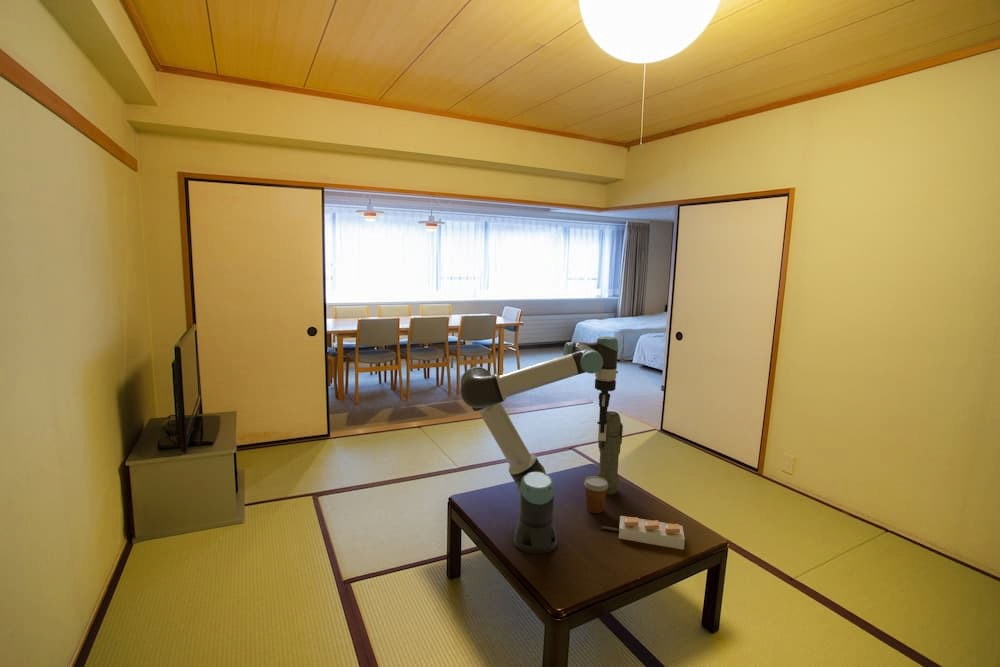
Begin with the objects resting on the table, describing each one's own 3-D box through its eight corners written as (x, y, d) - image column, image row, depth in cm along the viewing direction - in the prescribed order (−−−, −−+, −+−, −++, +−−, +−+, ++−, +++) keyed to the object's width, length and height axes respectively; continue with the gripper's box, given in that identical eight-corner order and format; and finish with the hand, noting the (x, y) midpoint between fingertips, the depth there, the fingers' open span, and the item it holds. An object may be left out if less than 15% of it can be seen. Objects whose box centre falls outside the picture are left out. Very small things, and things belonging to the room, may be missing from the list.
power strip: (600, 535, 172) (601, 523, 171) (602, 522, 180) (602, 511, 180) (683, 549, 164) (684, 537, 163) (681, 535, 173) (682, 524, 172)
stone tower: (624, 490, 206) (629, 413, 201) (605, 497, 200) (610, 418, 195) (608, 482, 214) (613, 408, 208) (590, 489, 207) (594, 412, 202)
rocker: (665, 533, 166) (665, 529, 166) (665, 527, 169) (664, 524, 169) (680, 532, 165) (679, 528, 165) (679, 527, 168) (678, 523, 168)
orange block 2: (645, 529, 168) (644, 526, 168) (645, 524, 171) (644, 521, 171) (659, 528, 167) (658, 524, 167) (658, 523, 170) (657, 520, 170)
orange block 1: (624, 526, 170) (624, 522, 170) (624, 521, 173) (624, 517, 173) (638, 525, 169) (637, 521, 168) (638, 520, 172) (637, 517, 172)
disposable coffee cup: (605, 504, 194) (606, 476, 192) (608, 516, 185) (610, 487, 183) (581, 502, 195) (583, 475, 193) (583, 514, 186) (585, 485, 184)
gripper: (615, 383, 166) (611, 447, 169) (616, 375, 178) (612, 435, 182) (593, 381, 168) (590, 445, 171) (596, 374, 180) (593, 433, 184)
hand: (601, 440), depth 177 cm, fingers closed
